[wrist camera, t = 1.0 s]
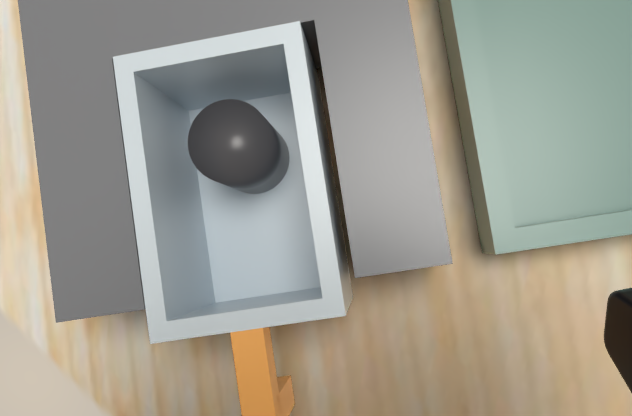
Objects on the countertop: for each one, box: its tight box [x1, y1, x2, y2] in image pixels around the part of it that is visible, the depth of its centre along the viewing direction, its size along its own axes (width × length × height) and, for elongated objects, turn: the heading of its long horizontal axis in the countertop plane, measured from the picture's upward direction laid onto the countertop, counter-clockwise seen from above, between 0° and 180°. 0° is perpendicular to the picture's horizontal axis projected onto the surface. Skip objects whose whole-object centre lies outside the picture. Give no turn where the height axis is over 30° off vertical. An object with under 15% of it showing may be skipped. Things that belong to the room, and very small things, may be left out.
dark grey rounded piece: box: [188, 99, 290, 194], centre depth 21 cm, size 3×3×4 cm
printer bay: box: [18, 0, 453, 323], centre depth 21 cm, size 14×13×5 cm
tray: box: [438, 0, 632, 255], centre depth 21 cm, size 15×11×2 cm
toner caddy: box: [113, 21, 353, 416], centre depth 20 cm, size 12×6×6 cm, turn 9°
